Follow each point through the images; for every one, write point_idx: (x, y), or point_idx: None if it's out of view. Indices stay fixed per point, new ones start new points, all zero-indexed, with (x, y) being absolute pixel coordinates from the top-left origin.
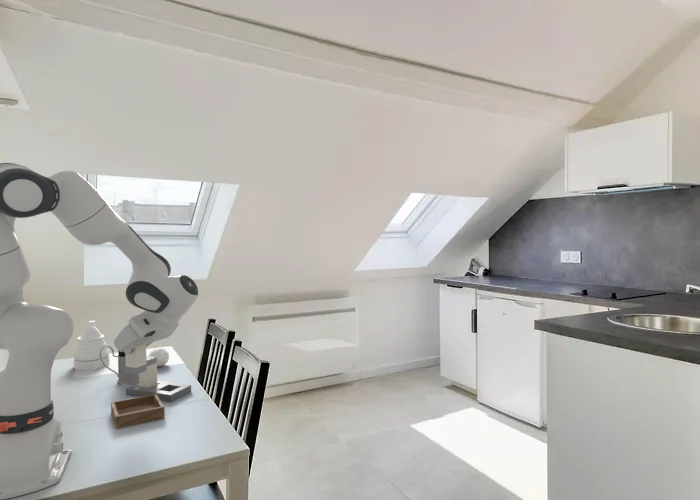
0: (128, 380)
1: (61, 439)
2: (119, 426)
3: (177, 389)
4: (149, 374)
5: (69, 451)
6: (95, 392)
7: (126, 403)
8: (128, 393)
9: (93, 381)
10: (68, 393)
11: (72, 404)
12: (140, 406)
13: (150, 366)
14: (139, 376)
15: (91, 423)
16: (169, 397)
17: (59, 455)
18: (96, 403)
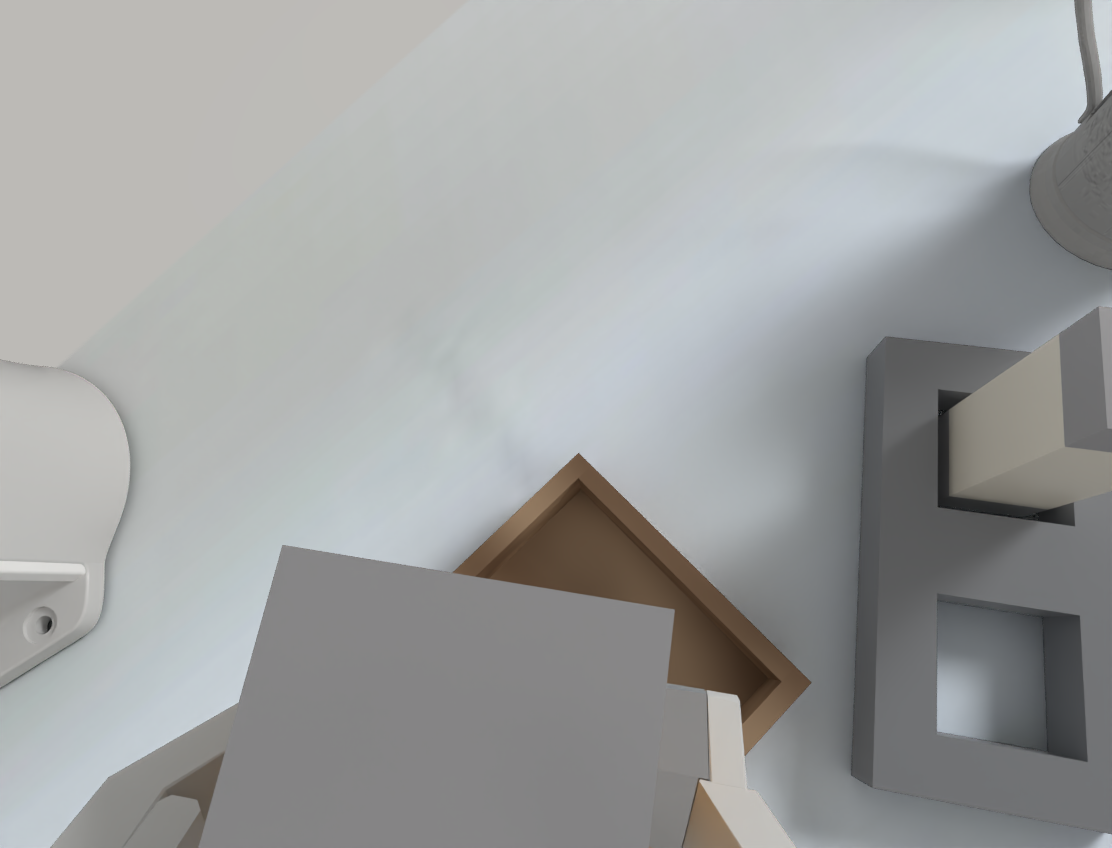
0: (1072, 217)
1: (29, 577)
2: None
3: (1007, 772)
4: (1027, 470)
5: (50, 641)
6: (845, 152)
7: (634, 537)
8: (872, 372)
9: (999, 13)
10: (783, 35)
11: (649, 171)
12: (677, 622)
13: (1089, 455)
14: (996, 379)
15: (435, 461)
16: (865, 768)
17: (8, 624)
18: (696, 280)
